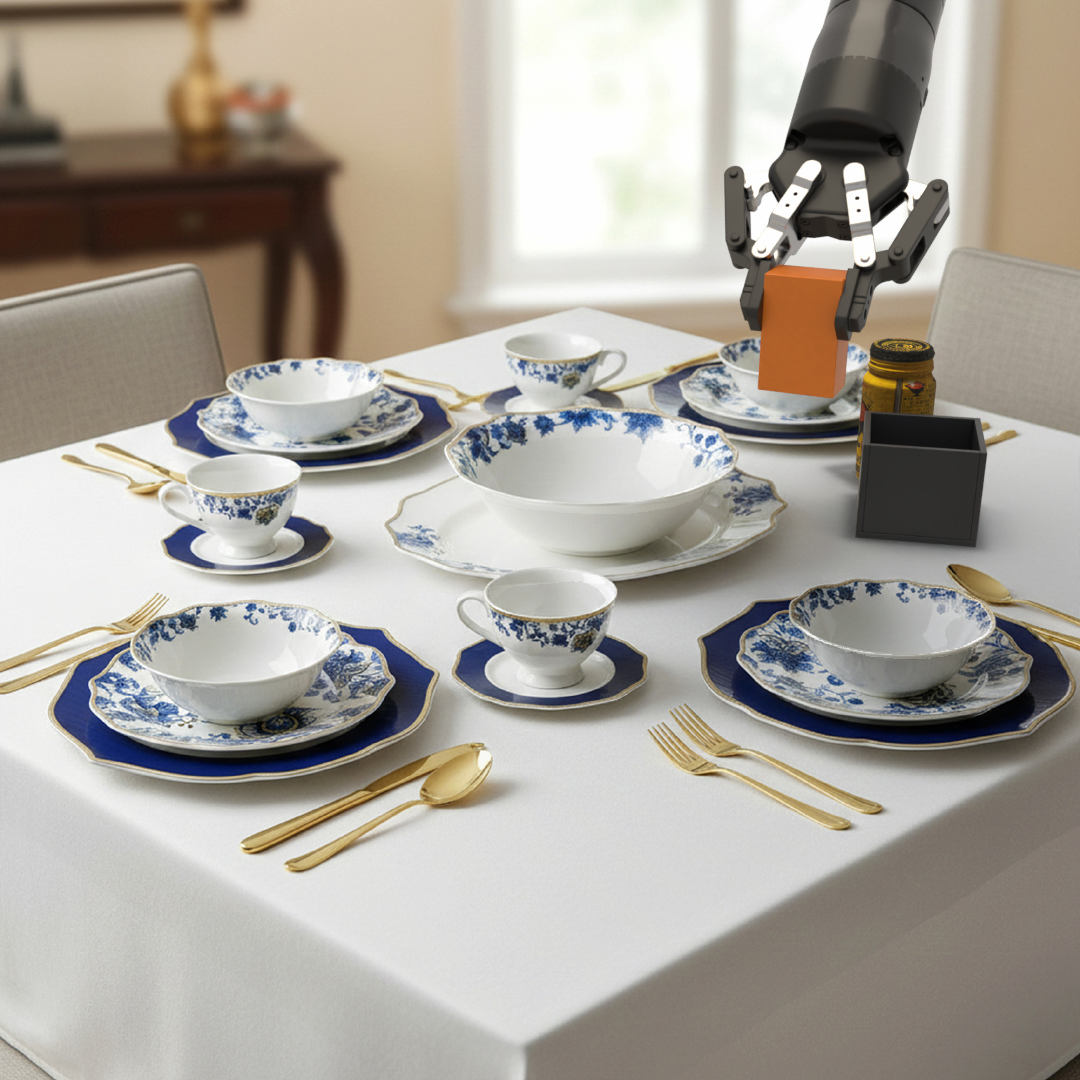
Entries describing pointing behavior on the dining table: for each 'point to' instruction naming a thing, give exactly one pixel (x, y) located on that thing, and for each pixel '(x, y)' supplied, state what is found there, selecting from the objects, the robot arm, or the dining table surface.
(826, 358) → the block
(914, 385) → the condiment
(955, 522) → the bin
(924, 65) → the robot arm
